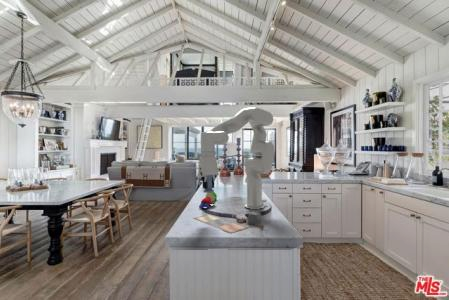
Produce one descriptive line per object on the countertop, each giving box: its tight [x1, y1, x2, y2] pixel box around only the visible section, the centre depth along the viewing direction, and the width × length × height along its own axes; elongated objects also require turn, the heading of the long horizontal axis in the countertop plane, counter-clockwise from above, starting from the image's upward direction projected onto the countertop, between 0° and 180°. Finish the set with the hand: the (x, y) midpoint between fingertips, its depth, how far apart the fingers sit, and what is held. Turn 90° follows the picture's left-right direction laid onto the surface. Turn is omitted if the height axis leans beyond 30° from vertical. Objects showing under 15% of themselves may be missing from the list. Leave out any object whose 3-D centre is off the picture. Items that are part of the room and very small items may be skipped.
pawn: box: [202, 175, 215, 194], centre depth 148 cm, size 6×6×11 cm
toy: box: [198, 191, 219, 209], centre depth 177 cm, size 8×8×15 cm
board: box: [192, 213, 250, 234], centre depth 142 cm, size 12×32×1 cm, turn 40°
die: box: [247, 211, 262, 225], centre depth 142 cm, size 5×5×5 cm
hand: (208, 187), depth 148 cm, fingers closed on pawn, 4 cm apart
